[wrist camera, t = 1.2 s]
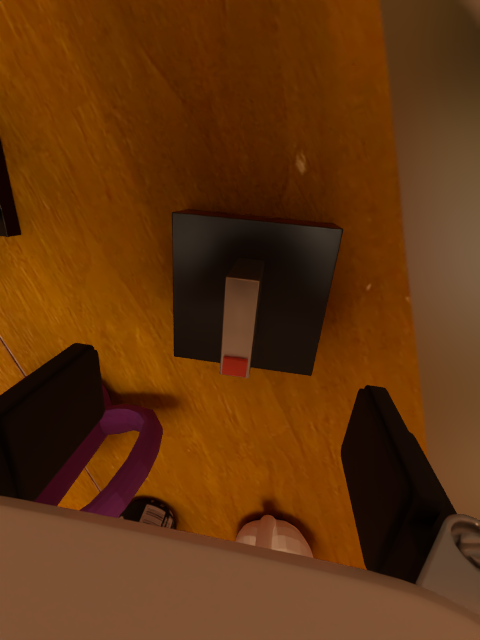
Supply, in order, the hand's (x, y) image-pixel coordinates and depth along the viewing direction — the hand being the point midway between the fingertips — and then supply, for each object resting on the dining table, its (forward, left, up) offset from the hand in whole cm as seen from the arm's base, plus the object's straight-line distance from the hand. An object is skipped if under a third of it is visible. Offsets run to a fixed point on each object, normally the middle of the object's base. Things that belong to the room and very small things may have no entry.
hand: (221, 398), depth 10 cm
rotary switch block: (0, 0, -13) cm, 13 cm away
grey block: (0, 0, -9) cm, 9 cm away
